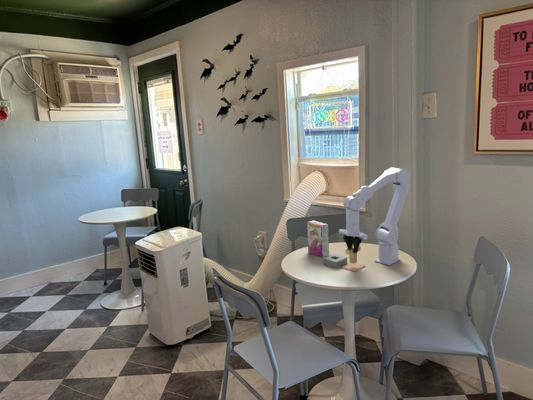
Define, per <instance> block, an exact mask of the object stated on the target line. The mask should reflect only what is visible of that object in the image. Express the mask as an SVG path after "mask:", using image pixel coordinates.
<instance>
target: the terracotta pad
mask: <svg viewBox="0 0 533 400" xmlns="http://www.w3.org/2000/svg"><path fill="white" fill-rule="evenodd" d="M365 267H366V265H364V264H361V263H358V262H356V263H354V264H353V263H350V262H349V263H347V264H345V265H343V266H341V269H345V270H347V271H350V272H353V273H355V272H357V271H359V270H361V269H363V268H365Z"/></svg>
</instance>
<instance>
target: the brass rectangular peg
mask: <svg viewBox="0 0 533 400" xmlns="http://www.w3.org/2000/svg"><path fill="white" fill-rule="evenodd" d="M361 249H362V248H361V245H359V249H358V252H360V251H361ZM344 251H345V254H346V255H348V256H349V257H348V258H349V259H348V260H349V263H353V264H354V263H358V252H357V253H354V251H353V246H352V247H350V248H345V250H344Z"/></svg>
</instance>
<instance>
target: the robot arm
mask: <svg viewBox="0 0 533 400" xmlns="http://www.w3.org/2000/svg"><path fill="white" fill-rule="evenodd" d="M411 177H412V176H411V174H410V172H409V170H408V169H406V168H398V167H393V166H390V167H388V169H386V170H384V172H383V173H382V174H381V175H380V176H379V177H378V178H376V179H375V180H374V181H373V182H372V183H370V185H364V186H361V187H360V189H359V190H357V191H356V192H353V193H352V195H348V196H347V197H345V198H344V201H343V202H342V203H343V206H344V208H345V222H346V223H345V225H346V226H345V227H346V228H345V229H343V228H341V229H339V230H338V234H339V235H344V236H342V239H343V241H344V242H345V245H346V247H347V248H350V247H352V246H353V251H354V253H357V254H358V252H359V251H358V249H359V246H361V243H362V241H363V240H364V241H366V240H368V239H369V237H368V234H366V233H364V232H361V231H360V209H361V208H362V206H363V204H364V203H366V202H367V201H368V200H369V199H371V198H372V197H373V196H374V192H377V190H379V189H381V188H382V187H384V186H385V185H386V184H388V183H389V184H390V183H391V184H392V186H393V187H394V189H395V190H394V194H393V196H392V199H391V203H390V205H389V208H388V210H387V214H386V217H385V219H384V221H383V222H382V223H380V224H379V227H378V228H377V229H376V231H375V238H376V239H377V243H378V258H376V259H374V262H375V263H380V264H383V265H387V266H390V265H391V266H392V264H395V263H397V262H399V261H400V260H401V258H399V249H400V247H399V245H398V240H399V231H400V230H399V227H398V226H397V224H398V222H399V219H400V217H401V213H402V211H403V207H404V205H405V202H406V199H407V198H408V197H407V196H408V193H409V191H410V181H411ZM347 248H346V249H347Z"/></svg>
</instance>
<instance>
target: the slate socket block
mask: <svg viewBox="0 0 533 400" xmlns="http://www.w3.org/2000/svg"><path fill="white" fill-rule="evenodd" d="M322 264H323V265H325V266H328V267H330V268H335V269H338V268H341V267H342V266H345V265H347V264H348V256H344V255H340V254H336V253H331V254H329V256H326V257H322Z"/></svg>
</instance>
